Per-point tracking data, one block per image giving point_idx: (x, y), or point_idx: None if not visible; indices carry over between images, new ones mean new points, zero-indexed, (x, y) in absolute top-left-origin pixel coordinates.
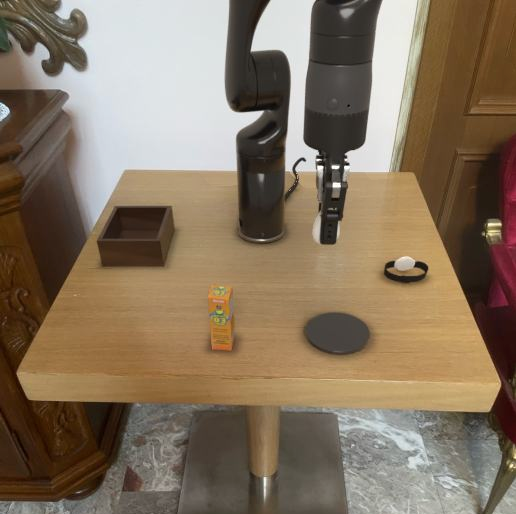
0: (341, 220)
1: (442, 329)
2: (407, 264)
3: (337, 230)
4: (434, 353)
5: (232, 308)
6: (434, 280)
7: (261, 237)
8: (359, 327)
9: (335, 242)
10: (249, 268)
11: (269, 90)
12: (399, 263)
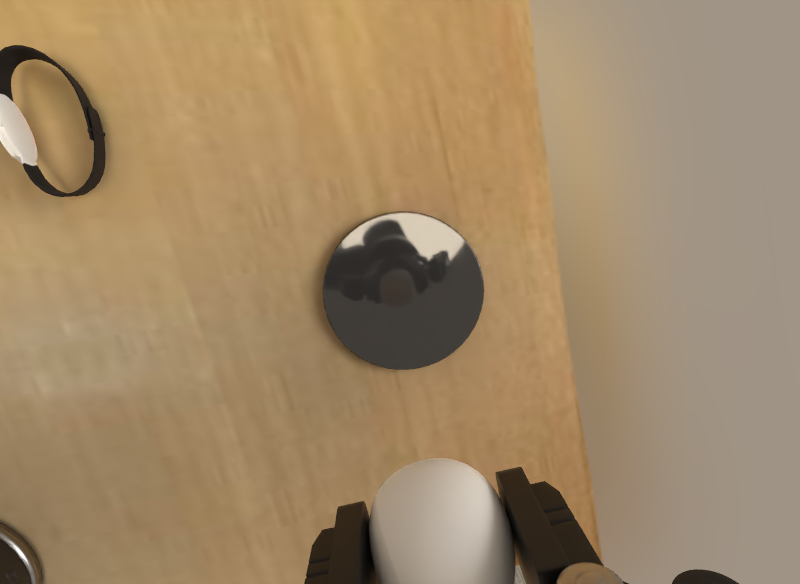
0: (723, 576)
1: (312, 10)
2: (16, 120)
3: (480, 496)
4: (424, 37)
5: (515, 578)
6: (50, 29)
7: (22, 572)
8: (375, 241)
9: (520, 469)
10: (177, 550)
11: None
12: (24, 148)
